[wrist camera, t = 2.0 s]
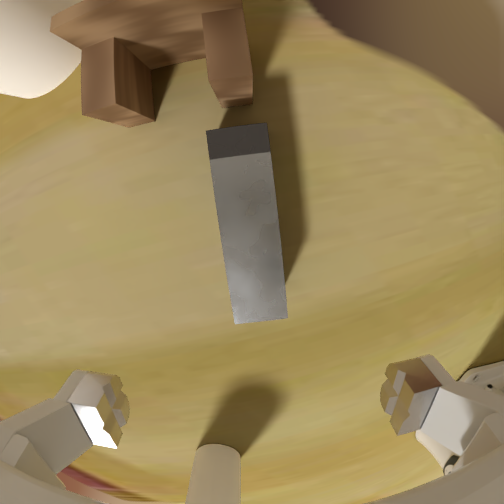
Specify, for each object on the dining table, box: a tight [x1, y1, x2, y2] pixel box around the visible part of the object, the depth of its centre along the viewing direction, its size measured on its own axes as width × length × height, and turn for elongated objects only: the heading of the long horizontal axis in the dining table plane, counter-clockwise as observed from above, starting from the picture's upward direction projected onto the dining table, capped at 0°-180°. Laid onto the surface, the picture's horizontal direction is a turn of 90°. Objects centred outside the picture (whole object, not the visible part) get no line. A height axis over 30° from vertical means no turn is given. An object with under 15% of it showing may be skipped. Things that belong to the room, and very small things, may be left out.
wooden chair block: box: [50, 0, 253, 127], centre depth 16 cm, size 11×6×12 cm, turn 97°
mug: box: [185, 444, 241, 504], centre depth 28 cm, size 10×7×12 cm, turn 168°
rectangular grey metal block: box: [206, 123, 288, 324], centre depth 22 cm, size 4×14×5 cm, turn 7°
